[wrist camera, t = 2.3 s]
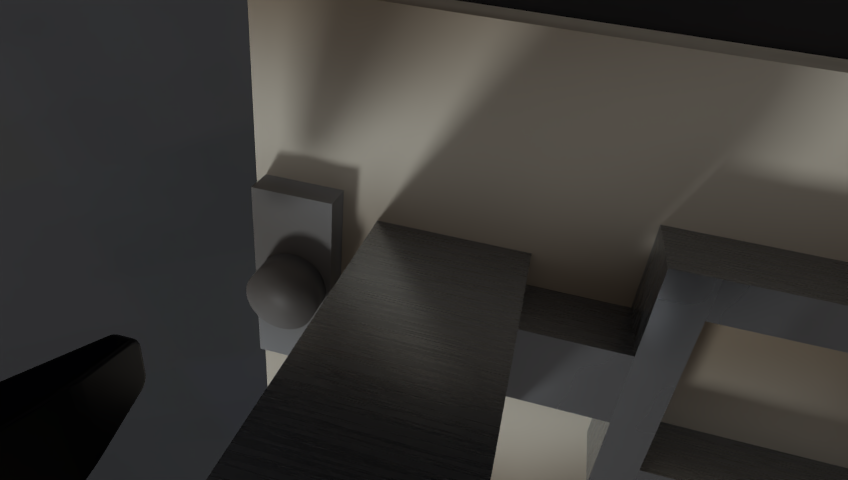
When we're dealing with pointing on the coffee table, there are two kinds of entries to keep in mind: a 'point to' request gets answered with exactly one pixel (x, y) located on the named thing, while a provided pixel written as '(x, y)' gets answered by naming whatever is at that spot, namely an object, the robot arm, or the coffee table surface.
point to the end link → (524, 361)
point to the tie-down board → (552, 183)
